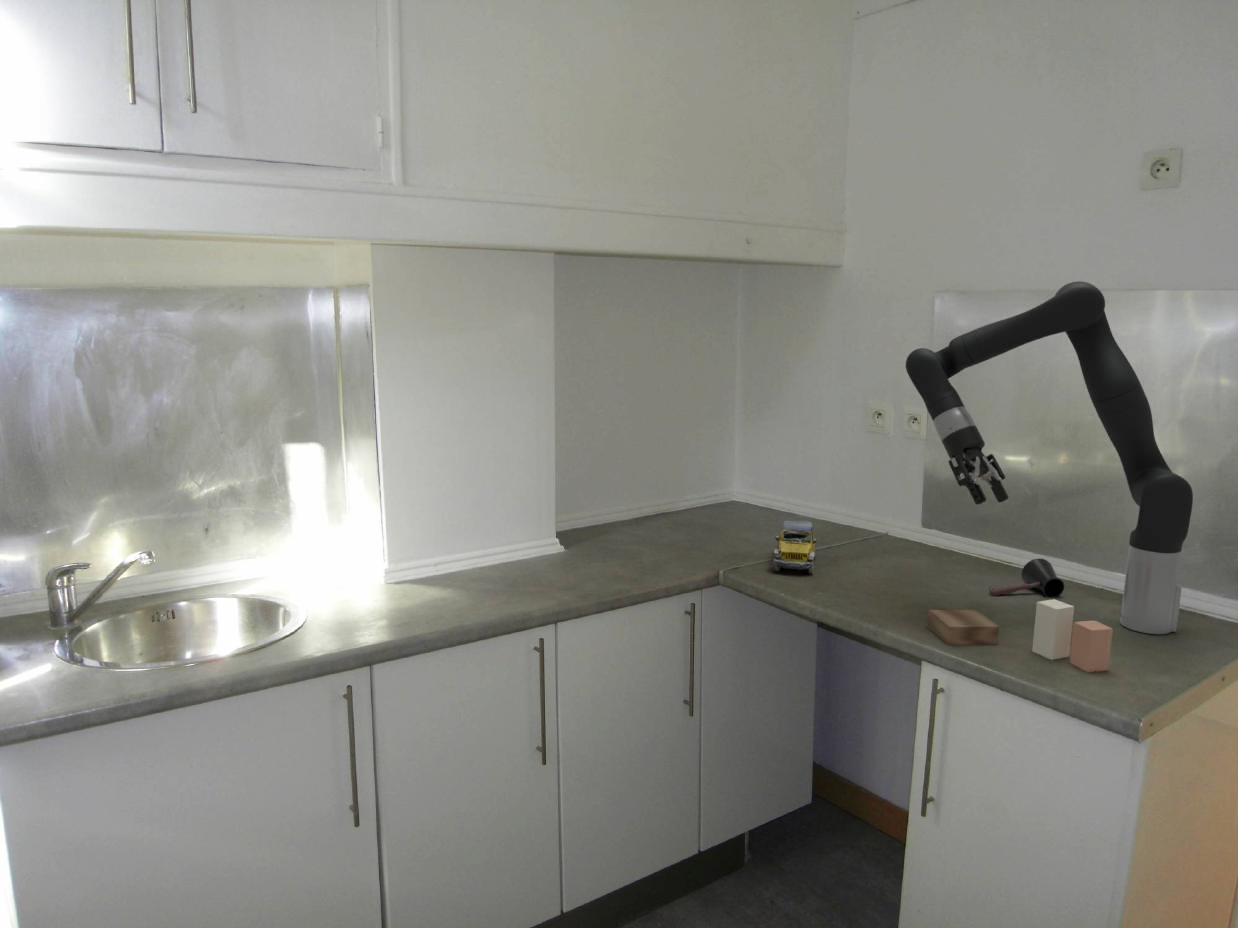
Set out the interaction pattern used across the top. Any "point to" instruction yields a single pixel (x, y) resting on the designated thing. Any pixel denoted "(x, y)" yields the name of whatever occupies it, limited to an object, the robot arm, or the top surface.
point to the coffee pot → (1036, 580)
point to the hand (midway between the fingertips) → (993, 501)
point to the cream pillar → (1053, 629)
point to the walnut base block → (963, 627)
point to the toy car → (795, 547)
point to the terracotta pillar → (1091, 646)
